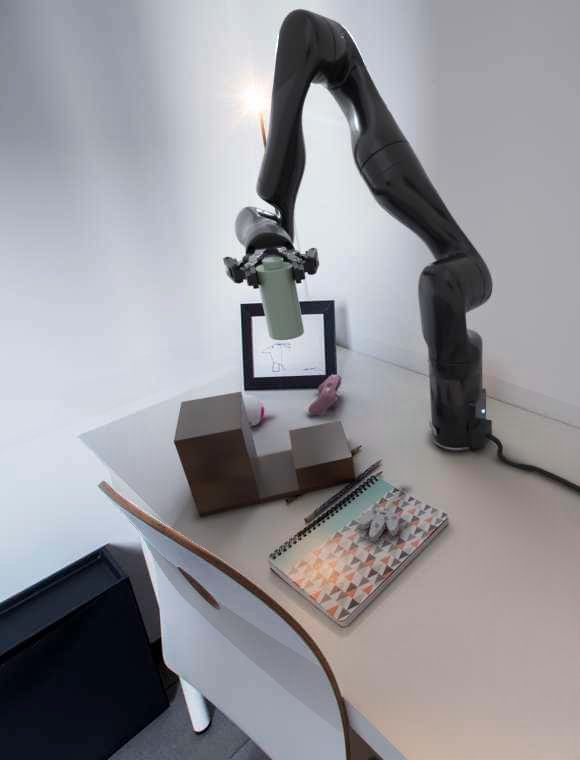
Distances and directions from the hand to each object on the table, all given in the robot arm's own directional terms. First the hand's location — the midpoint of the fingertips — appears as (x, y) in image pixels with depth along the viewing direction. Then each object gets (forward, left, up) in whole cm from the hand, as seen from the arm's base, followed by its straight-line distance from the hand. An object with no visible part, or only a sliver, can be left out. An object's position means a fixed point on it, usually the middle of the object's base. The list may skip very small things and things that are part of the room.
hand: (276, 278), depth 71 cm
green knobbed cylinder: (+2, -2, -9) cm, 9 cm away
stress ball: (+22, -11, -34) cm, 42 cm away
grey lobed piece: (-16, +4, -34) cm, 38 cm away
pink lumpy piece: (+12, -22, -34) cm, 42 cm away
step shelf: (+6, +2, -34) cm, 34 cm away
